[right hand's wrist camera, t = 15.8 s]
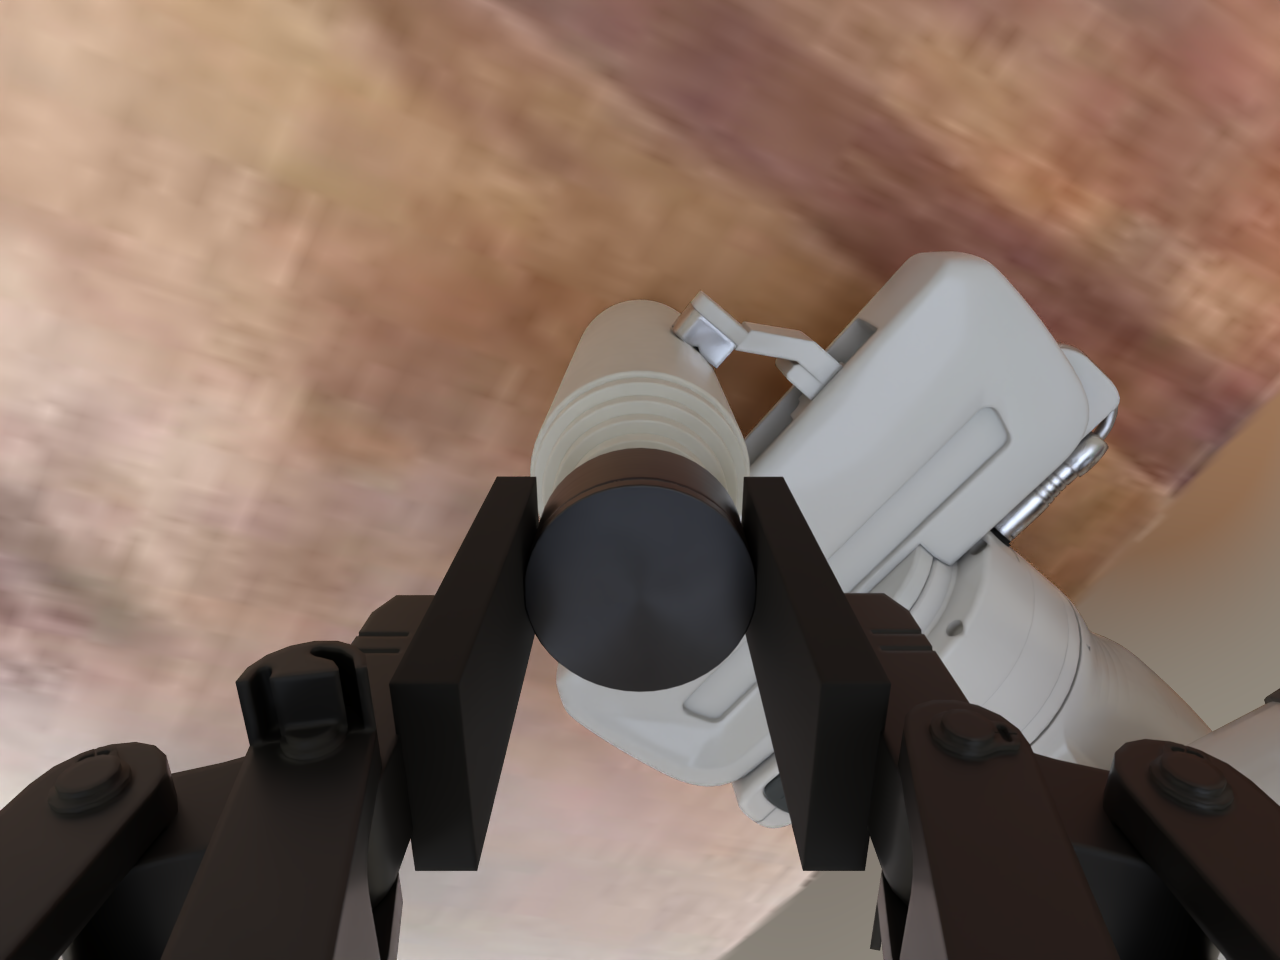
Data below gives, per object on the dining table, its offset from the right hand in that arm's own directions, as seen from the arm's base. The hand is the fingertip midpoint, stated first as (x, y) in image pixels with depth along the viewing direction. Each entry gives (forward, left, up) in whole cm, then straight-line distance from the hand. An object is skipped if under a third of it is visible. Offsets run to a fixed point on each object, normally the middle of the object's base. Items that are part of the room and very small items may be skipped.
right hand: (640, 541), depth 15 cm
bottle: (0, 0, -17) cm, 17 cm away
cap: (0, 0, +2) cm, 2 cm away
